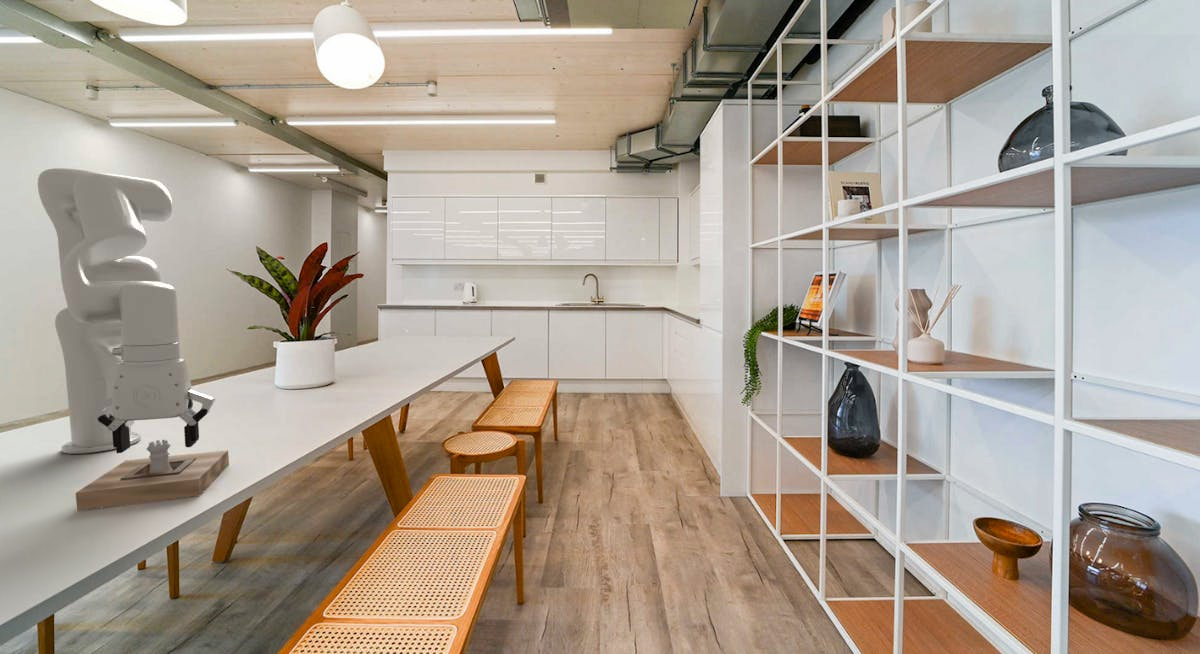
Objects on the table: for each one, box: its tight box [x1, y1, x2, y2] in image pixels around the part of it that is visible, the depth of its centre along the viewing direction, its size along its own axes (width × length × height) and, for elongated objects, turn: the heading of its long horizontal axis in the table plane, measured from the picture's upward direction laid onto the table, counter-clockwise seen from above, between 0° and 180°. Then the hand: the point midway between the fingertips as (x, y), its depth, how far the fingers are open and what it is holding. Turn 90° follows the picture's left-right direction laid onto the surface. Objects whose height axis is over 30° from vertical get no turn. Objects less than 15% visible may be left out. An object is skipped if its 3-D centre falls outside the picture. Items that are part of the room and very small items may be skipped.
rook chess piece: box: [146, 439, 173, 473], centre depth 90 cm, size 4×4×8 cm
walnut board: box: [75, 449, 230, 512], centre depth 90 cm, size 16×16×3 cm
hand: (157, 447), depth 90 cm, fingers open, 9 cm apart
